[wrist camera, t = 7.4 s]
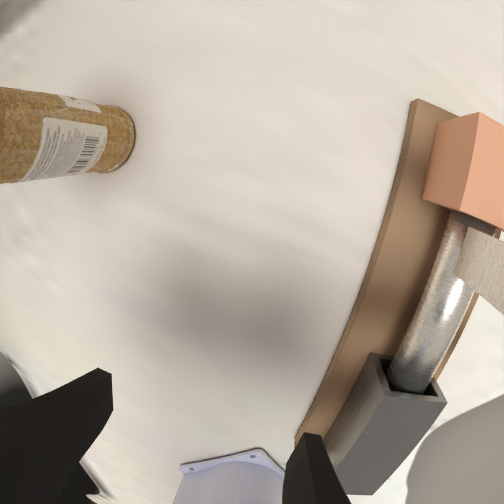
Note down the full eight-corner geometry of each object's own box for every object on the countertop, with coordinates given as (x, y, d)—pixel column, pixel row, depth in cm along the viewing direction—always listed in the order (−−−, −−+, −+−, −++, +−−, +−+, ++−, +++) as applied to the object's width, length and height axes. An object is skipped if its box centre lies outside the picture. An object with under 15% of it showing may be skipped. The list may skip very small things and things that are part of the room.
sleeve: (365, 454, 21) (372, 495, 17) (317, 449, 21) (317, 491, 17) (425, 362, 18) (447, 402, 14) (369, 351, 18) (384, 395, 14)
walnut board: (380, 448, 22) (382, 458, 21) (294, 437, 22) (294, 448, 21) (508, 150, 15) (519, 150, 14) (411, 102, 15) (418, 98, 14)
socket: (486, 225, 15) (532, 243, 11) (419, 198, 16) (459, 210, 11) (502, 156, 14) (550, 158, 9) (436, 123, 14) (479, 112, 10)
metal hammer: (404, 392, 18) (435, 477, 11) (369, 387, 18) (391, 479, 11) (489, 180, 14) (580, 196, 7) (453, 163, 14) (543, 168, 7)
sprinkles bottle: (118, 93, 17) (-56, 50, 4) (148, 147, 18) (-45, 143, 5) (72, 135, 18) (-96, 137, 6) (98, 187, 19) (-79, 228, 6)
